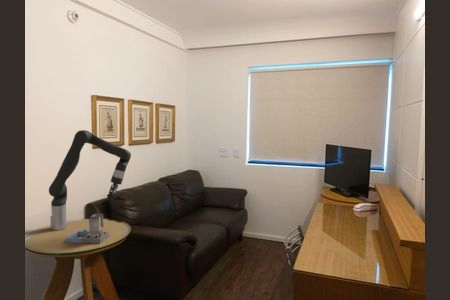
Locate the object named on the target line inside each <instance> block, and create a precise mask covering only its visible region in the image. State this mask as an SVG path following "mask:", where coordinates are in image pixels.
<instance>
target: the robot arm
mask: <svg viewBox="0 0 450 300" xmlns="http://www.w3.org/2000/svg"><path fill="white" fill-rule="evenodd" d="M86 144H89V145H92V146H93V145H94V146H95V147H96V148H99V149H100V150H102V151H103V152H105V153H107V154H110V155H112V156H116V157H118V158H119V160H118V162H117V163H116V165H115V168H114V170H113V173H112V176H111V179H110V183H112V184H111V186H110V189H109V191H108V193H109V194H108V196H107V200H110V201H111V200H114V197H115V195H116V193H117V191H118V188H119V185H122V184H123V180H124V177H125V172H126V170H127V167H128V164H129V163H130V160H131V156H132V154H131V152H130V151H129V150H128V149H126V148H123V147H121V146H118V145H116V144H114V143H112V142H109V141H107V140H105V139H102V138H100V137H98V136H96V135H95V134H93V133H92V132H90V131H89V130H84V129H83V130H82V129H80V130H78V131H77V132H76V133H75V134H74V137H73V140H72V142H71V145H70V147H69V149H68V150H67V152H66V155H65V158H64V159H63V161H62V163H61V165H60V167H59V170H57V171H58V172H57V174H56V176H55V177H54V178H53V179H54V180H52V182H51V184H50V185H49V187H48V194H49V195H50V196H51V197H53V199H51V215H50V217H49V218H50V230H53V231H60V230H65V229H66V228H67V227H68V226H67V225H68V223H67V200H68V187H67V185H66V182H67V180H68V179H69V178H70V176H71V175H72V174H73V173H74V172H75V170H76V168H77V166H78V165H79V162H80V157H81V151H82V149H83V147H84V146H85V145H86Z"/></svg>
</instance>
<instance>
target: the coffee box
mask: <svg viewBox="0 0 450 300" xmlns="http://www.w3.org/2000/svg"><path fill="white" fill-rule="evenodd" d="M88 225H89V227H88V228H89V230H88V231H89V236H90V238H100V237H102V236H103V235H104V232H105V231H104V213H93V214H91V215H90V216H89V217H88Z"/></svg>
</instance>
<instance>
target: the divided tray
mask: <svg viewBox="0 0 450 300" xmlns="http://www.w3.org/2000/svg"><path fill="white" fill-rule="evenodd" d="M81 236H82V237H81ZM109 237H110V231H104V235H103V236H102V237H100V238H90V236H89V230H88V229H82V230H77V231H75V232H73V233H72V234H70V235H68V236H67V237H66V243H76V244H102V243H103V242H104V241H105V240H107V239H108V238H109Z"/></svg>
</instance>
